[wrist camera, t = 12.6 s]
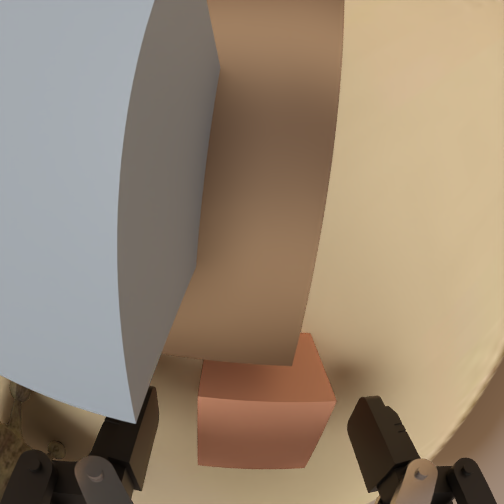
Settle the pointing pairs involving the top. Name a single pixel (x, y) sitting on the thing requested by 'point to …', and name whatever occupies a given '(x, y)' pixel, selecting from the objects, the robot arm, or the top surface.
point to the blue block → (99, 190)
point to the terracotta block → (263, 411)
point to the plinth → (263, 180)
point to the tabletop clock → (18, 439)
